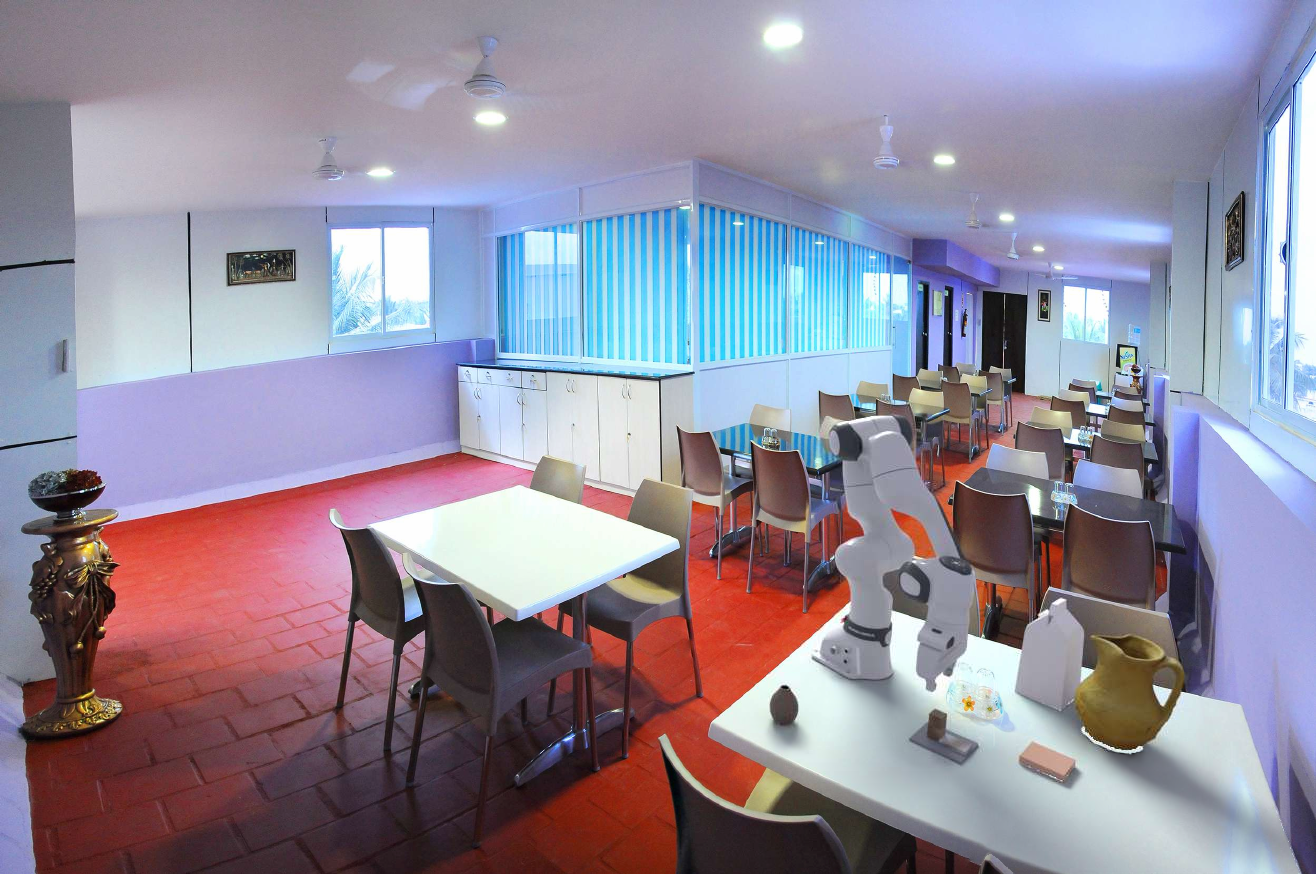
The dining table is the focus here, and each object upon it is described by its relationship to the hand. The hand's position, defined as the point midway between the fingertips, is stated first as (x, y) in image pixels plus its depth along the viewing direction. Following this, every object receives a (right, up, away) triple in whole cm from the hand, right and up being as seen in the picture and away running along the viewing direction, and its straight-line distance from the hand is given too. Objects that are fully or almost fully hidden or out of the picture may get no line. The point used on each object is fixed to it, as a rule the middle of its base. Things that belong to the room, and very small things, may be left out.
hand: (939, 682), depth 160 cm
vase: (-35, -12, +8) cm, 38 cm away
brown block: (+2, -14, 0) cm, 14 cm away
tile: (+18, -15, -4) cm, 24 cm away
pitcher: (+43, -15, +3) cm, 46 cm away
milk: (+38, -11, +23) cm, 46 cm away
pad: (+1, -14, 0) cm, 14 cm away
